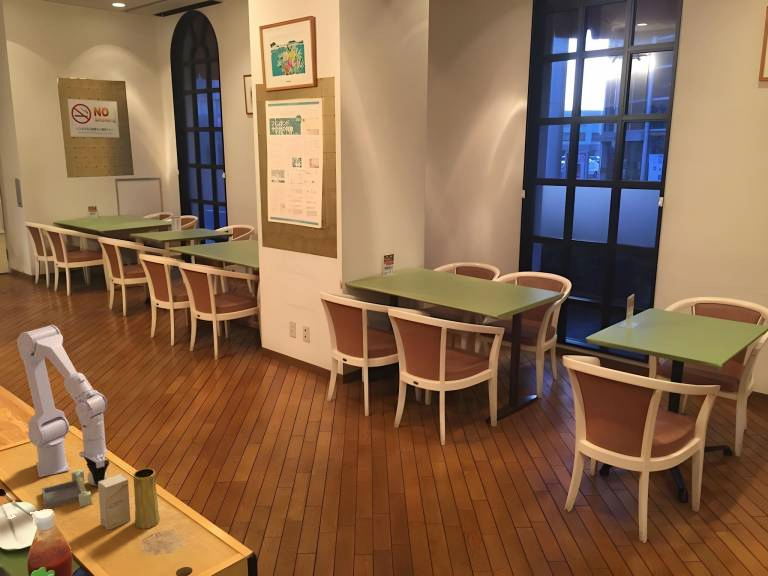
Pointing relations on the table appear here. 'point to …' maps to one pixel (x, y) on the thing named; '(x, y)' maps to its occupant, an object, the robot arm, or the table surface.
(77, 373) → the robot arm
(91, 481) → the ball
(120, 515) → the skincare box
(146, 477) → the vase
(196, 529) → the table surface
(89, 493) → the rail
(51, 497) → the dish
